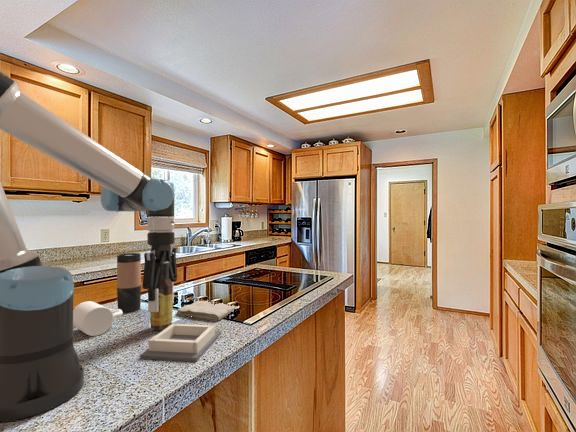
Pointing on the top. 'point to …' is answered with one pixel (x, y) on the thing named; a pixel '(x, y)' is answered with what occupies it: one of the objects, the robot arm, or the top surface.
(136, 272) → the travel mug
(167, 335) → the socket plate
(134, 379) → the top surface
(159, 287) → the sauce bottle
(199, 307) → the washcloth
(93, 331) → the mug
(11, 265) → the robot arm
